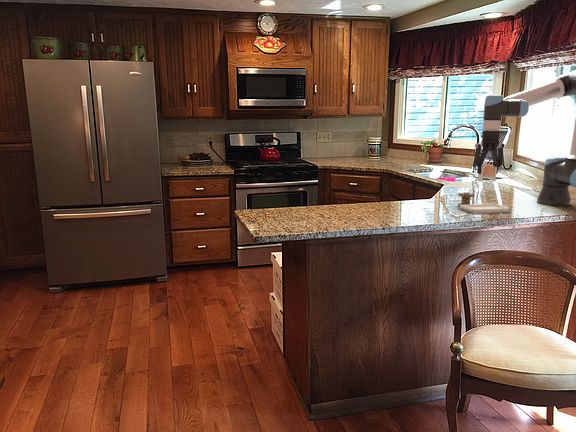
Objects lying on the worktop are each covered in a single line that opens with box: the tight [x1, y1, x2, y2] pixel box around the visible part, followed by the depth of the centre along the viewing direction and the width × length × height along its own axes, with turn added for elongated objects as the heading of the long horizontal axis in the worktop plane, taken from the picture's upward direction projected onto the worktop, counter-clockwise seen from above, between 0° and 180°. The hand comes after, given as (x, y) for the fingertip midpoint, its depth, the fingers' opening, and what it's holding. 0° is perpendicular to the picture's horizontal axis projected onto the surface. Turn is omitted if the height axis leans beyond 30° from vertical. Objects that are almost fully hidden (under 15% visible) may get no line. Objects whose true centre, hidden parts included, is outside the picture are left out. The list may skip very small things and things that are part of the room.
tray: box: [458, 203, 512, 215], centre depth 229 cm, size 19×12×2 cm, turn 101°
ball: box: [482, 164, 495, 178], centre depth 225 cm, size 6×6×6 cm
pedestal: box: [457, 192, 475, 207], centre depth 239 cm, size 7×7×6 cm
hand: (486, 180), depth 226 cm, fingers closed on ball, 6 cm apart
